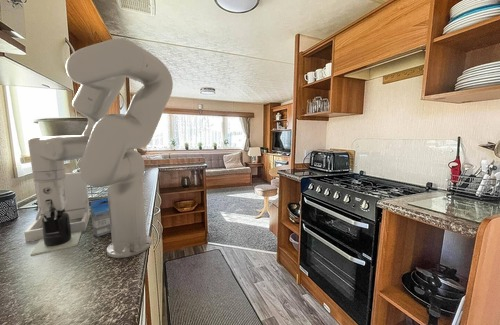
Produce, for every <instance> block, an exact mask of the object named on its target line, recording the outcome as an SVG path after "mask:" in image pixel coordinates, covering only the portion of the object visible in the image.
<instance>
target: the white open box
mask: <svg viewBox="0 0 500 325" xmlns="http://www.w3.org/2000/svg"><path fill="white" fill-rule="evenodd" d="M65 174H66V179H63V181H64V185H65V191H66V196H67V205H66V207H65V212H66V213H68V214H69V217H70V221H71V220H76V219H81V221H75V222H70V226H71V233H74V232H79V231H82V232H85V231H86V229H87V228H88V223H89V220H90V215H91V211H90V201H89V192H88V184H87V183H86V182H85V181H84V180H83V179H82V177H81V174H80V171H79V172H65ZM33 182H34V181H33ZM34 189H35V196H36V202H37V213H36V216H35V219H34V221H32V223H31V224H30V225H29V226H28V228H26V230H25V231H24V239H25V243H27V242H33V241H40V240H41V239H43V230H42V222H41V220H42V218H43V217H44V215H45V214H44V213H42V210H41V205H40V197H39V184H38V182H34Z"/></svg>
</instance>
